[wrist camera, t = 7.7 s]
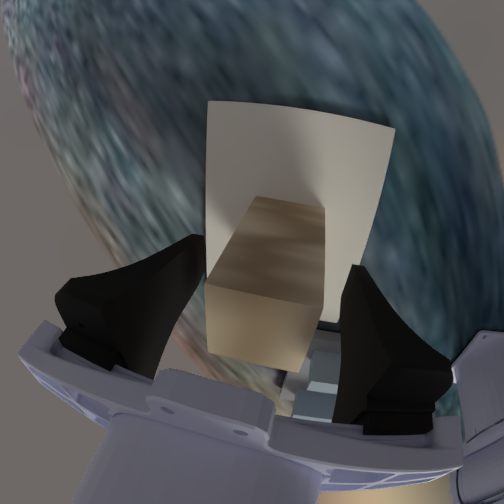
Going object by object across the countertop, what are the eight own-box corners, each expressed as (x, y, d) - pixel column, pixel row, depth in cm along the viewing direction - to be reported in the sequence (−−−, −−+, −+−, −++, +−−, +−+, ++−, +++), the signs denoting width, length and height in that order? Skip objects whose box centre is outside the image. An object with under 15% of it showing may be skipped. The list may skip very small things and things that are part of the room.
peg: (325, 208, 15) (323, 308, 9) (311, 265, 17) (298, 372, 11) (255, 195, 16) (204, 283, 9) (250, 253, 18) (207, 352, 11)
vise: (403, 342, 20) (408, 381, 17) (358, 401, 26) (356, 432, 23) (301, 326, 21) (295, 367, 18) (280, 390, 27) (273, 422, 24)
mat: (393, 128, 12) (395, 129, 12) (337, 319, 20) (336, 323, 20) (210, 100, 14) (208, 100, 13) (209, 293, 21) (207, 296, 21)
